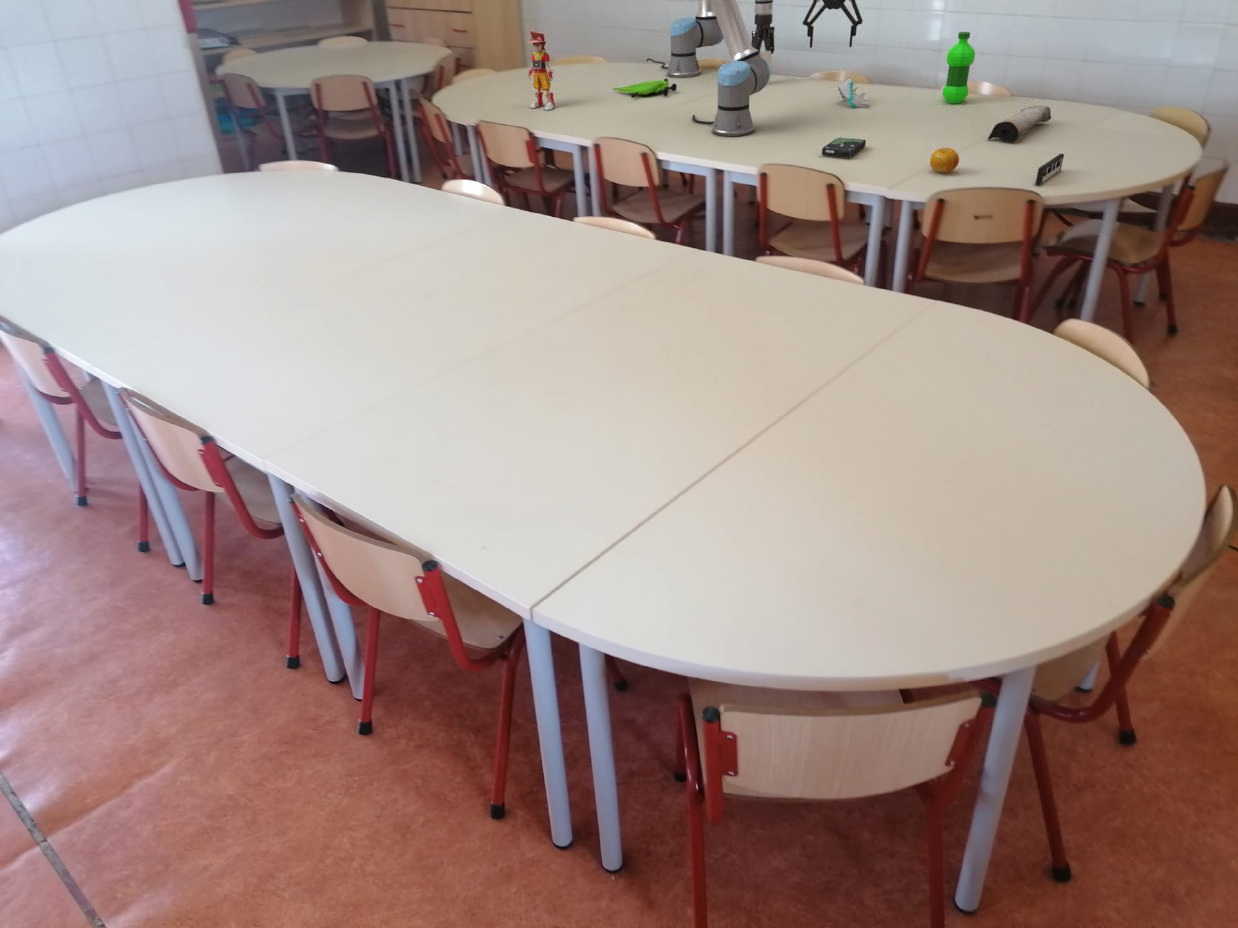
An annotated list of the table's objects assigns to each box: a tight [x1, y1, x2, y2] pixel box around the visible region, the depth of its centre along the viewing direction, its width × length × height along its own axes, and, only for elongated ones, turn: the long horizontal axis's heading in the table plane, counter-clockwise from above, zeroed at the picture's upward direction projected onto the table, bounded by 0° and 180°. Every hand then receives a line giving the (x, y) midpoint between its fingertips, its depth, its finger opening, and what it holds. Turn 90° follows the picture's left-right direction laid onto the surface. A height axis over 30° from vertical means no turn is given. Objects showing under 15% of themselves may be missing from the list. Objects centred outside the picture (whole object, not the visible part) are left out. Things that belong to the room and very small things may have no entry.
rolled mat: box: [987, 105, 1052, 144], centre depth 315 cm, size 30×9×10 cm
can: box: [759, 49, 772, 68], centre depth 392 cm, size 7×7×9 cm
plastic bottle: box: [942, 31, 976, 104], centre depth 348 cm, size 10×10×25 cm
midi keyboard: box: [1035, 153, 1065, 186], centre depth 273 cm, size 18×1×5 cm, turn 138°
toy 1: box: [527, 31, 556, 111], centre depth 374 cm, size 12×9×30 cm
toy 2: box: [612, 78, 677, 99], centre depth 396 cm, size 28×5×30 cm
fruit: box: [929, 147, 960, 174], centre depth 283 cm, size 8×8×8 cm
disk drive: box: [821, 136, 867, 159], centre depth 307 cm, size 10×3×15 cm
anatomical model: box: [837, 78, 871, 108], centre depth 358 cm, size 15×10×10 cm
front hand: (830, 47), depth 315 cm, fingers open, 13 cm apart
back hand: (761, 71), depth 394 cm, fingers closed on can, 7 cm apart
